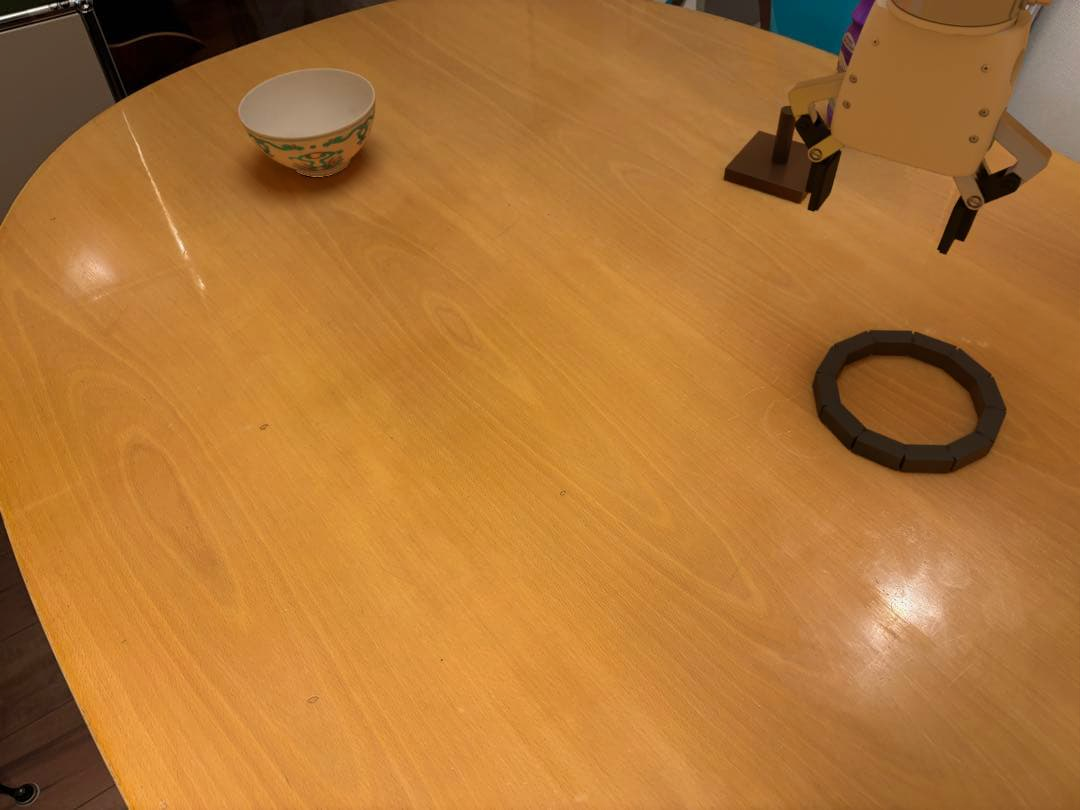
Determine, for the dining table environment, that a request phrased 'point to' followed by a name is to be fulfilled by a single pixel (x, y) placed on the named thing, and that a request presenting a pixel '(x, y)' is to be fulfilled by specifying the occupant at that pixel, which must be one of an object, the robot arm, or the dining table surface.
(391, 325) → the dining table surface
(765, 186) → the brown peg stand
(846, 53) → the bottle
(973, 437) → the ring
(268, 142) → the chinaware
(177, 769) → the dining table surface
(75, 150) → the dining table surface
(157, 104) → the dining table surface
